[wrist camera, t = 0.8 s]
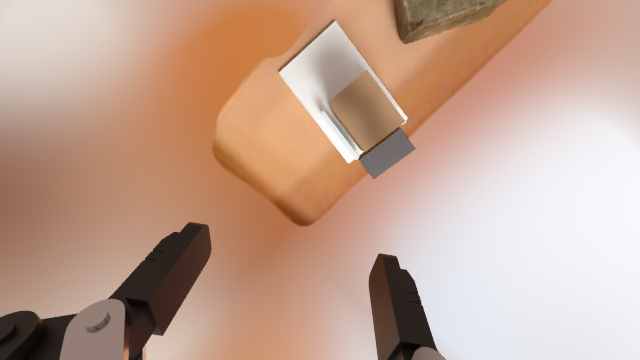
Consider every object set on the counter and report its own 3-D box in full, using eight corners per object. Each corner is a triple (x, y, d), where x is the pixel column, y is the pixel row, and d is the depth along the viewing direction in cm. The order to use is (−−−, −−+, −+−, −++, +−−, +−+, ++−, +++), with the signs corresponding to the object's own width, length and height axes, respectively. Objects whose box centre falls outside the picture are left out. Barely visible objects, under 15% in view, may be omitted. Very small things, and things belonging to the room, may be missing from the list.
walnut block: (361, 88, 30) (366, 69, 23) (390, 127, 31) (405, 121, 23) (332, 113, 31) (327, 102, 24) (360, 150, 32) (365, 151, 24)
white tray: (335, 23, 30) (334, 7, 27) (423, 142, 31) (433, 141, 28) (279, 74, 32) (271, 65, 28) (364, 184, 33) (367, 189, 30)
